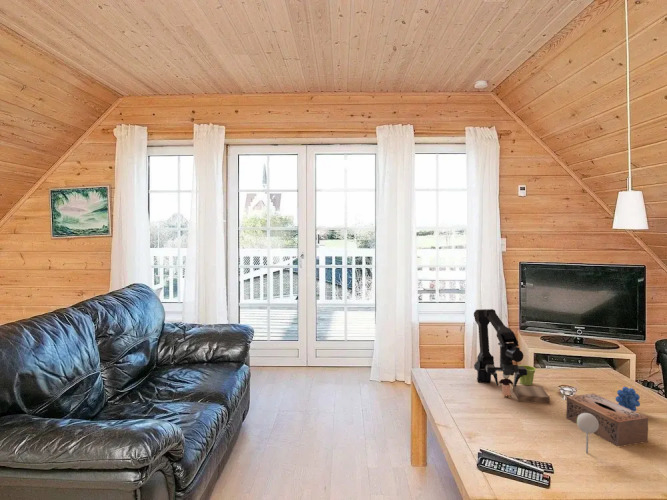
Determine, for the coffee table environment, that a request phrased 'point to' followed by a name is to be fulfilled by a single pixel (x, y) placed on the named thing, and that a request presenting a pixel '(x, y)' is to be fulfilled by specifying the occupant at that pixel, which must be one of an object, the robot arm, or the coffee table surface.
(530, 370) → the plant pot
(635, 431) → the tissue box cover
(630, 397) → the blue flower
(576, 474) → the coffee table surface
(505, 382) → the grandmother figurine
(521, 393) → the walnut base
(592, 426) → the lollipop
